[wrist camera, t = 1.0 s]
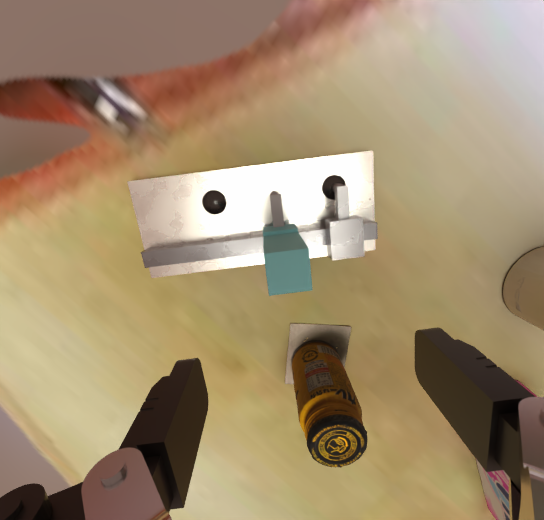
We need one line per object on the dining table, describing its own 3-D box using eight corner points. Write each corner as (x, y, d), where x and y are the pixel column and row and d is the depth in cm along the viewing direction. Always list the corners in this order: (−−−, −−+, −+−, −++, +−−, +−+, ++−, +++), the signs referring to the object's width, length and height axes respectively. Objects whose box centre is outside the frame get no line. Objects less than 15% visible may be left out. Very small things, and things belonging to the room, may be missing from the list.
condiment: (284, 382, 37) (294, 475, 25) (290, 322, 35) (304, 395, 23) (341, 384, 37) (376, 477, 26) (350, 325, 35) (393, 398, 24)
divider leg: (289, 189, 29) (304, 195, 18) (295, 254, 30) (312, 294, 20) (258, 192, 29) (256, 201, 18) (267, 258, 30) (269, 299, 20)
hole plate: (367, 151, 30) (390, 146, 24) (370, 246, 32) (391, 260, 27) (133, 181, 30) (105, 182, 24) (156, 273, 32) (135, 292, 27)
